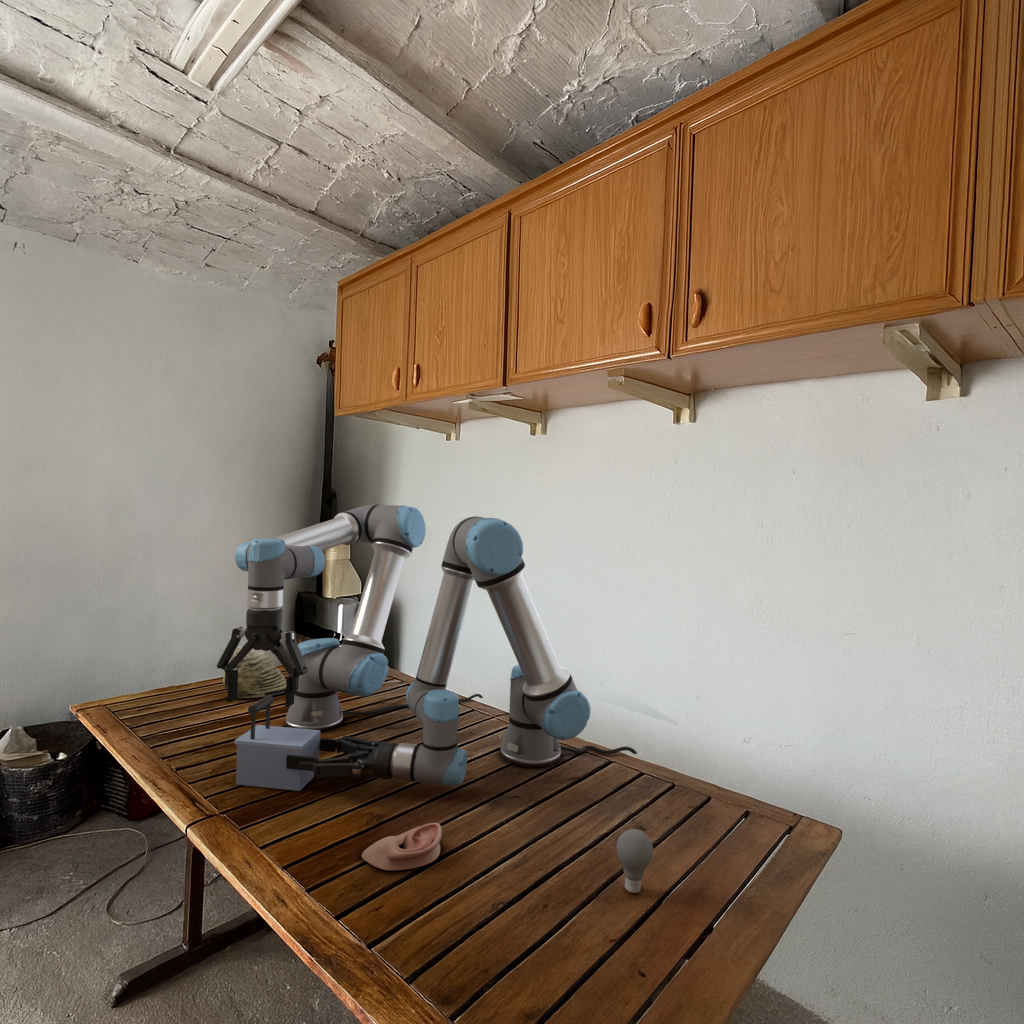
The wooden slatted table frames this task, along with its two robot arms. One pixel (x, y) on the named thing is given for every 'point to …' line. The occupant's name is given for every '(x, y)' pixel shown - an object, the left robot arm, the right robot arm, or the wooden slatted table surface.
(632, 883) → the light bulb
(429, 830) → the anatomical model
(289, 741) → the lid
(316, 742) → the chest
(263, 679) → the fossil
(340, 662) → the left robot arm
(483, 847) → the wooden slatted table surface
